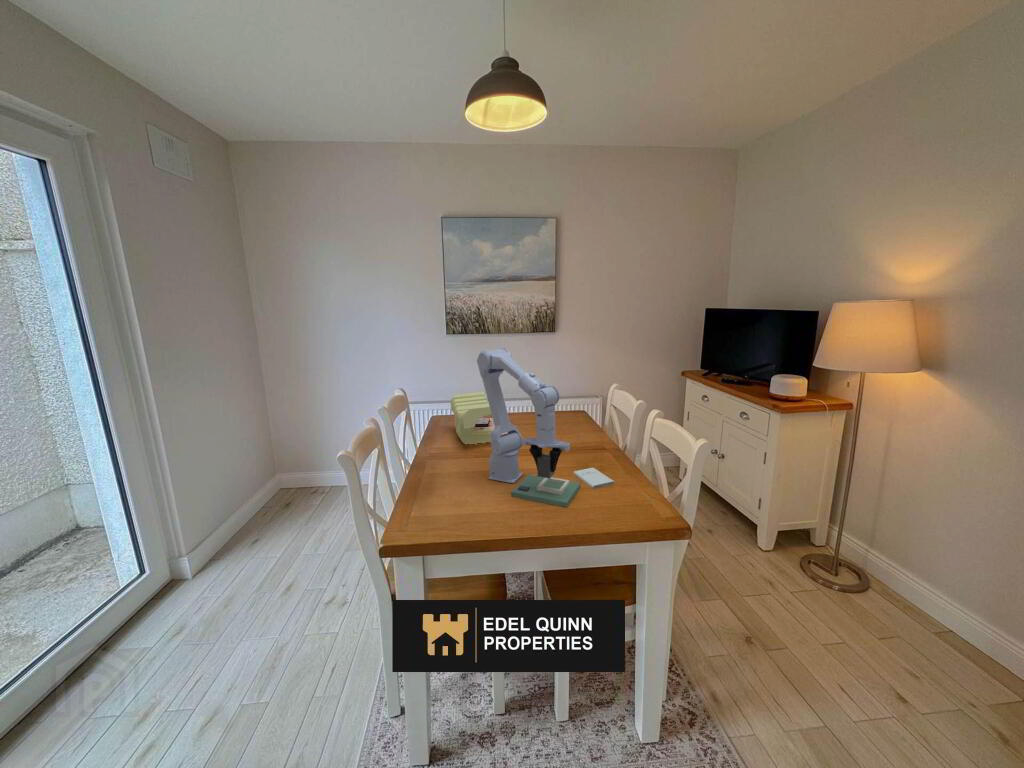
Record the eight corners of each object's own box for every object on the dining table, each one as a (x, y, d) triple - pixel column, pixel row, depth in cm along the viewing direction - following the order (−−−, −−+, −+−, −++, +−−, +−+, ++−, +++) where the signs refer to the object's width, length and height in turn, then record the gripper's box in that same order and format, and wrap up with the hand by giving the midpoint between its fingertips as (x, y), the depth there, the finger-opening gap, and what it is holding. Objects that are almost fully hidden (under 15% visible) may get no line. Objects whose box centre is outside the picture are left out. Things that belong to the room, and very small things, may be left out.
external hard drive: (592, 490, 128) (573, 475, 139) (614, 485, 131) (593, 471, 142) (592, 485, 128) (573, 471, 139) (614, 480, 130) (593, 466, 142)
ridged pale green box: (452, 431, 190) (450, 394, 186) (485, 427, 195) (483, 391, 191) (465, 453, 162) (462, 410, 158) (503, 447, 167) (501, 406, 163)
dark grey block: (537, 476, 122) (537, 457, 121) (542, 471, 125) (542, 452, 124) (549, 478, 120) (549, 458, 119) (554, 473, 124) (554, 454, 122)
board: (511, 496, 124) (510, 488, 124) (529, 478, 137) (528, 470, 136) (566, 507, 117) (566, 498, 116) (580, 487, 129) (580, 479, 128)
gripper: (518, 428, 120) (519, 471, 122) (564, 434, 113) (564, 479, 116) (527, 421, 126) (528, 462, 129) (572, 426, 119) (572, 469, 122)
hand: (546, 469), depth 123 cm, fingers closed on dark grey block, 4 cm apart
